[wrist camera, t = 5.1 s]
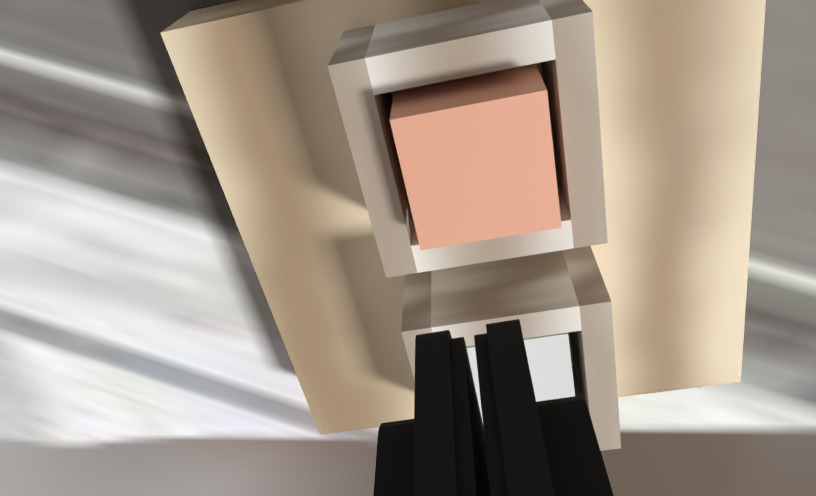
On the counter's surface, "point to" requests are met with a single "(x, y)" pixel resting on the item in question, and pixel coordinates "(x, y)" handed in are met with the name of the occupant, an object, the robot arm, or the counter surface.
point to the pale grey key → (541, 367)
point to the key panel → (500, 257)
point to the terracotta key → (477, 157)
